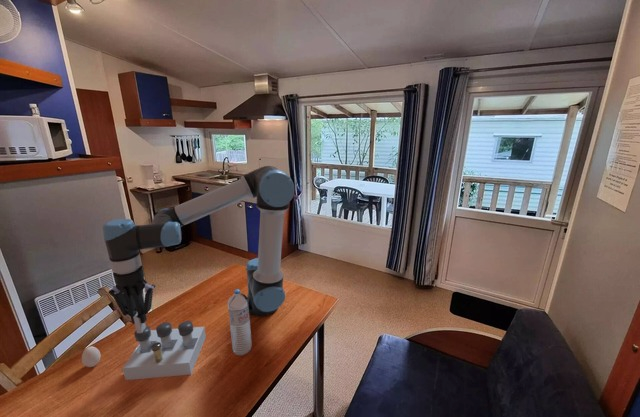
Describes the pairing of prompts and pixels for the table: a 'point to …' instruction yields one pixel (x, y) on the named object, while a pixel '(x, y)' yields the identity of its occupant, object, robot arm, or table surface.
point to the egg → (90, 356)
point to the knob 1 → (144, 339)
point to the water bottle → (239, 323)
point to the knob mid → (165, 334)
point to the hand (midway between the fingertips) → (141, 330)
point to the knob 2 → (186, 332)
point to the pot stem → (157, 352)
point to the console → (166, 357)
